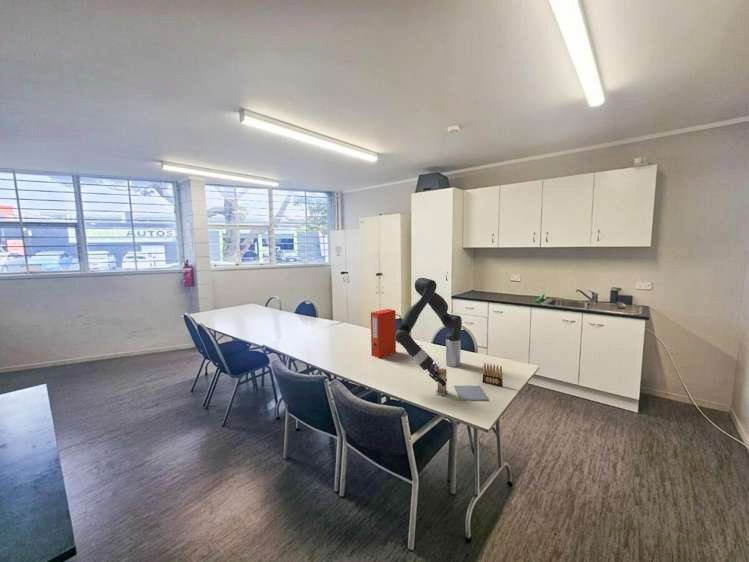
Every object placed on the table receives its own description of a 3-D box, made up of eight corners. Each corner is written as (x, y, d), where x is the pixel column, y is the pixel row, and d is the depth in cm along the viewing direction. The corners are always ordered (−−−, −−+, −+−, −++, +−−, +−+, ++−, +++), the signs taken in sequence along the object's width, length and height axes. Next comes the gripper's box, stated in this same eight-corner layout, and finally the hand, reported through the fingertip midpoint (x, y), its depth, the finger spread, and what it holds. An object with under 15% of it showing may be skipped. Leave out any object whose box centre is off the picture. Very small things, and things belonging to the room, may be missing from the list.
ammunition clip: (482, 382, 182) (482, 362, 181) (483, 381, 183) (483, 361, 182) (501, 387, 176) (502, 366, 174) (502, 385, 177) (503, 365, 176)
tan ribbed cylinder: (435, 390, 173) (435, 367, 172) (446, 390, 173) (446, 367, 171) (437, 395, 167) (437, 372, 166) (448, 395, 167) (448, 372, 165)
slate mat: (454, 386, 178) (454, 385, 178) (479, 386, 177) (479, 385, 177) (460, 400, 162) (460, 399, 162) (488, 400, 161) (488, 399, 161)
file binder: (396, 352, 236) (395, 310, 232) (379, 358, 224) (378, 314, 221) (388, 350, 242) (387, 308, 238) (371, 355, 230) (370, 312, 227)
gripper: (425, 359, 163) (449, 384, 161) (429, 350, 177) (451, 373, 174) (415, 368, 165) (439, 393, 163) (420, 358, 179) (441, 381, 177)
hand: (445, 382), depth 169 cm, fingers closed on tan ribbed cylinder, 4 cm apart
